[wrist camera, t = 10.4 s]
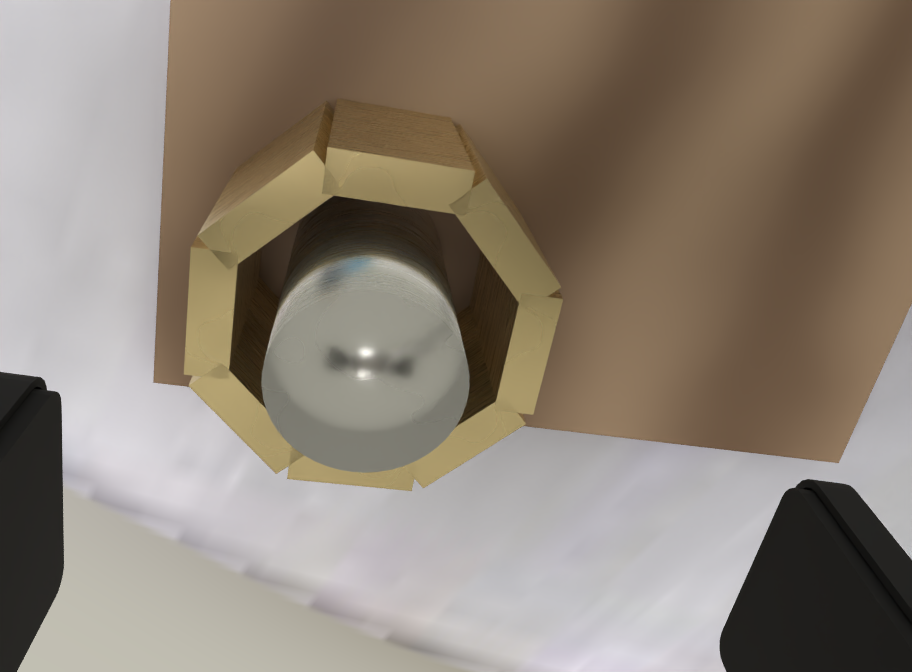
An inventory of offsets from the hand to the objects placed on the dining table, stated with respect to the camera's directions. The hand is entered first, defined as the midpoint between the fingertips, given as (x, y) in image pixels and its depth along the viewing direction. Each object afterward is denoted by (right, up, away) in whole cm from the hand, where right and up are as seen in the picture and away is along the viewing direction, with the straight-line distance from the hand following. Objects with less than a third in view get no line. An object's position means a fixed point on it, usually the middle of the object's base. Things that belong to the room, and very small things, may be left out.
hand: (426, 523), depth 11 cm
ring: (-2, +5, +10) cm, 11 cm away
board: (+3, +6, +11) cm, 13 cm away
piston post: (-2, +5, +11) cm, 12 cm away
